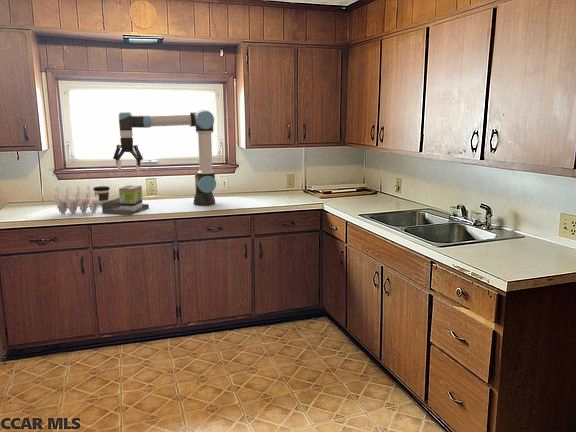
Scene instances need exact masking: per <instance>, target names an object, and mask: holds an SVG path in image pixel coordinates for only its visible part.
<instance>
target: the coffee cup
mask: <svg viewBox="0 0 576 432" xmlns="http://www.w3.org/2000/svg"><path fill="white" fill-rule="evenodd" d="M110 190H111V189H110V186H106V185H101V186H94V187H93V190H92V191H94V195H95V196H94V197H96V194H98V195H99V204H98V206H102V202H106V201H109V195H110Z"/></svg>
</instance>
